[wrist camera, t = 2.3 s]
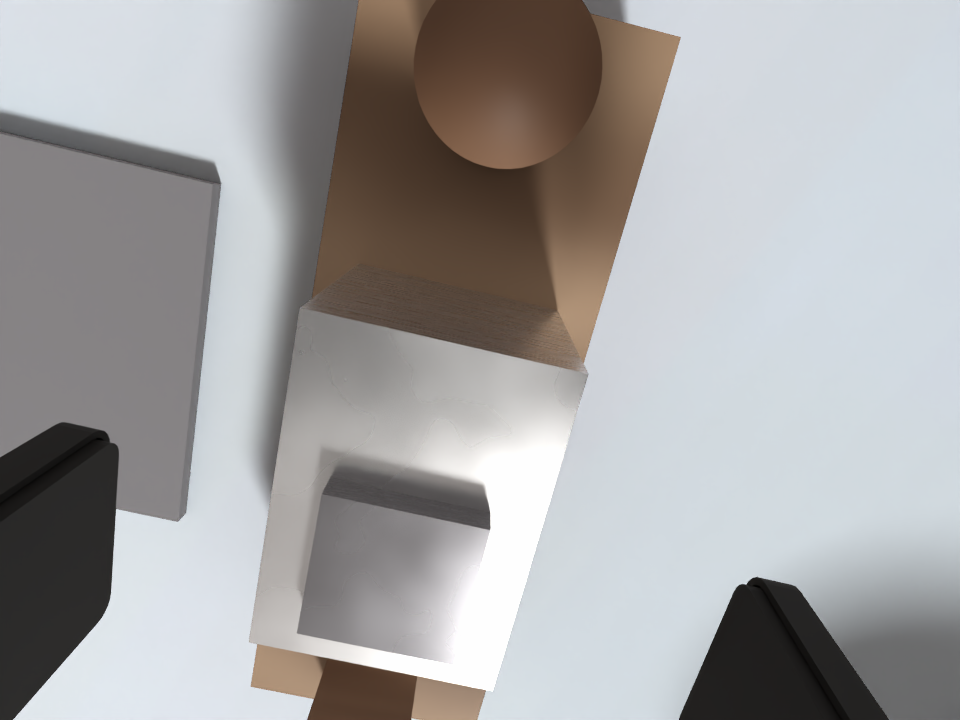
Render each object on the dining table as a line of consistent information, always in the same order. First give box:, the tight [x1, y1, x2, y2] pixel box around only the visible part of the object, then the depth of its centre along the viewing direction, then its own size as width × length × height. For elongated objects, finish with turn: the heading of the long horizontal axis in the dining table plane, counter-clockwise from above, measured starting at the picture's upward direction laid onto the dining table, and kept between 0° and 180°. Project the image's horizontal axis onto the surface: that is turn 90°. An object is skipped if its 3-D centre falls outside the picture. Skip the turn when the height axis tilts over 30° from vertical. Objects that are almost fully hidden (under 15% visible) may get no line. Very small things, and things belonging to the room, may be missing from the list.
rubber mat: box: [0, 131, 221, 522], centre depth 21 cm, size 12×12×1 cm
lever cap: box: [249, 264, 588, 691], centre depth 14 cm, size 7×5×6 cm
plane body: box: [251, 0, 681, 720], centre depth 17 cm, size 20×7×9 cm, turn 167°
